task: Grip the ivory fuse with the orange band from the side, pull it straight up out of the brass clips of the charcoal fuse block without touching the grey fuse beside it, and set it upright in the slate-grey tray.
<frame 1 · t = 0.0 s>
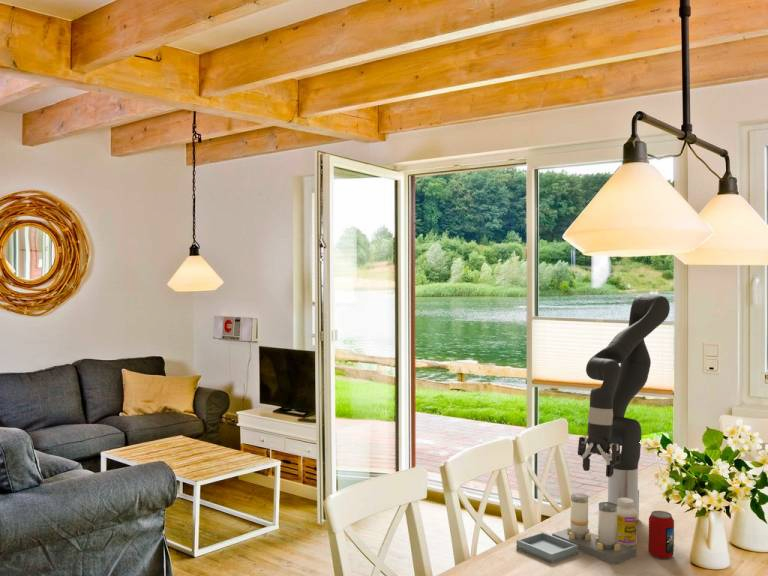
hand: (597, 473, 229), 17 cm above the table, tool pointing down, fingers open, 8 cm apart
fuse block: (592, 547, 213), on the table
beverage can: (660, 556, 207), on the table
tray: (546, 551, 210), on the table
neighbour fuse: (607, 546, 209), point 2 cm above the table, touching fuse block
supplement bottle: (624, 543, 217), on the table
marked fuse: (579, 535, 217), point 2 cm above the table, touching fuse block
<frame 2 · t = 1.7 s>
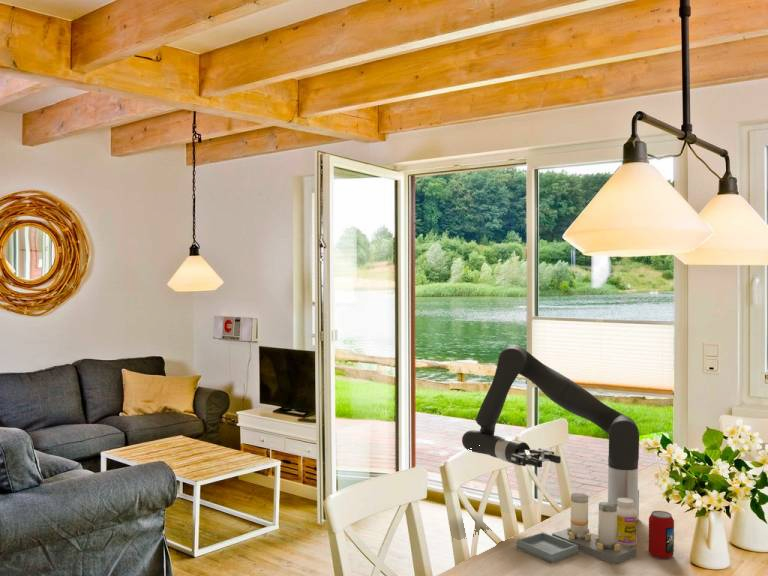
hand: (550, 462, 225), 22 cm above the table, tool horizontal, fingers open, 8 cm apart
nothing on the table moved.
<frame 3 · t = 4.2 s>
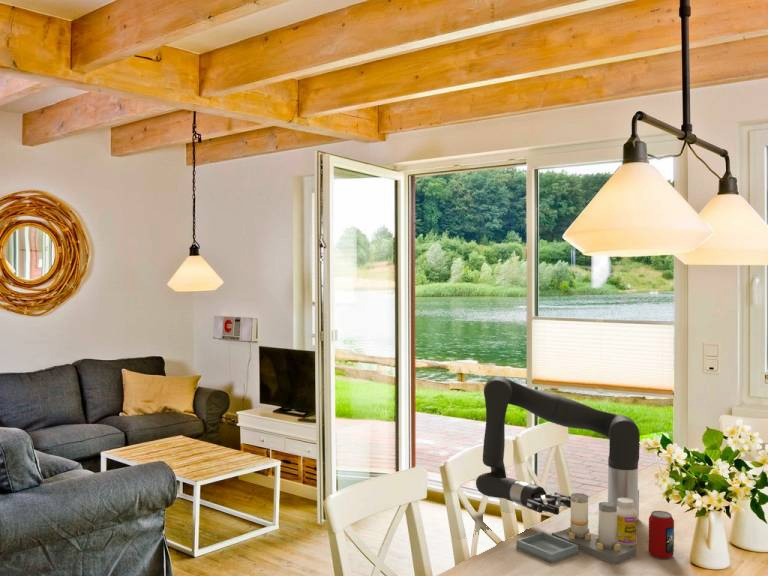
hand: (567, 508, 220), 9 cm above the table, tool horizontal, fingers open, 8 cm apart
nothing on the table moved.
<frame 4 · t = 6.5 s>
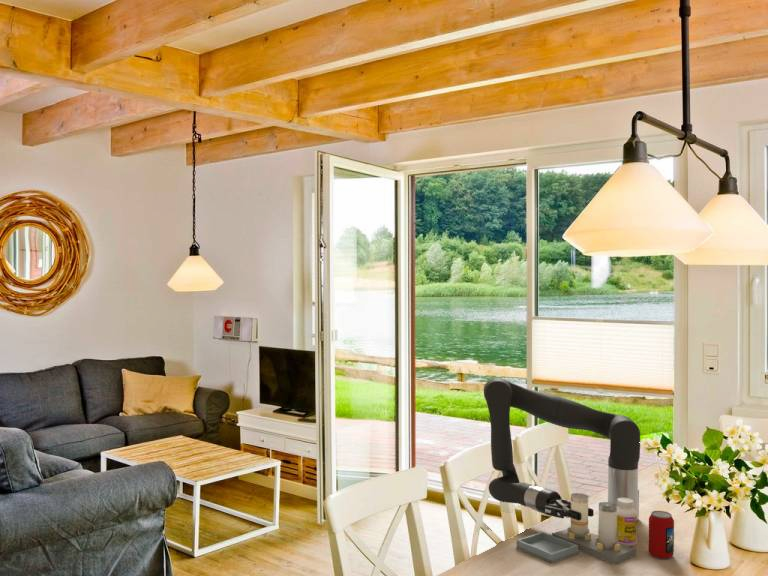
hand: (586, 514, 215), 9 cm above the table, tool horizontal, fingers closed on marked fuse, 5 cm apart
marked fuse: (579, 535, 217), point 2 cm above the table, touching fuse block, gripper
everything else where it was.
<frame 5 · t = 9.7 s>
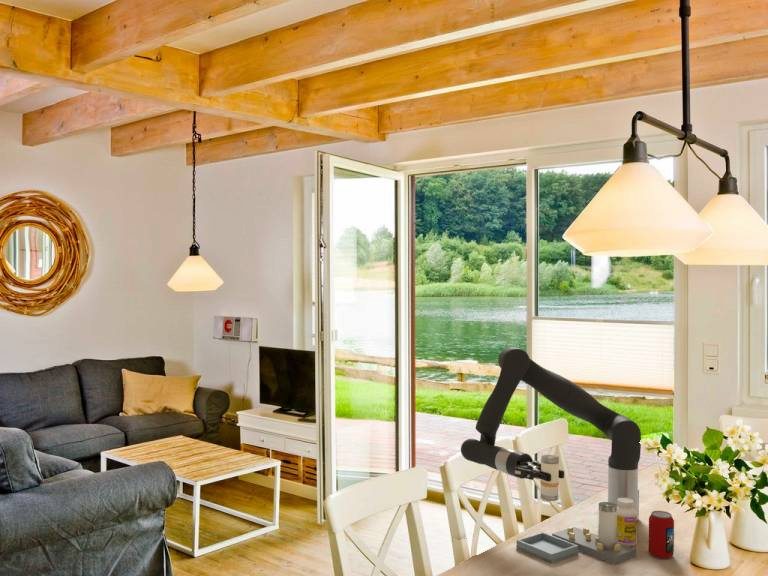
hand: (556, 476, 208), 22 cm above the table, tool horizontal, fingers closed on marked fuse, 5 cm apart
marked fuse: (549, 498, 211), point 15 cm above the table, touching gripper
everything else where it was.
when the fingers open (9 cm above the table, at t = 13.2 s): marked fuse drops 1 cm, resting on tray.
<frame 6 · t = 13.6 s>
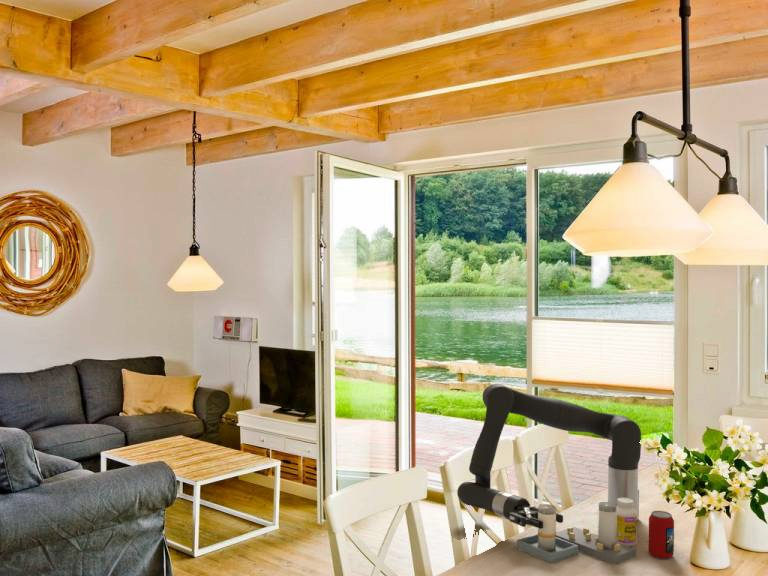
hand: (552, 522, 208), 9 cm above the table, tool horizontal, fingers open, 8 cm apart
marked fuse: (546, 548, 210), point 1 cm above the table, touching tray
everything else where it was.
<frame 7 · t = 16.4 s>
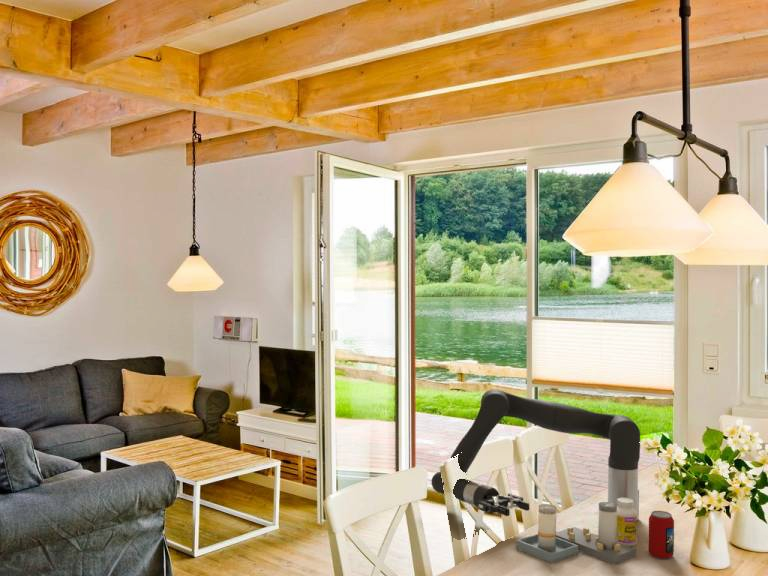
hand: (518, 509, 219), 9 cm above the table, tool horizontal, fingers open, 8 cm apart
nothing on the table moved.
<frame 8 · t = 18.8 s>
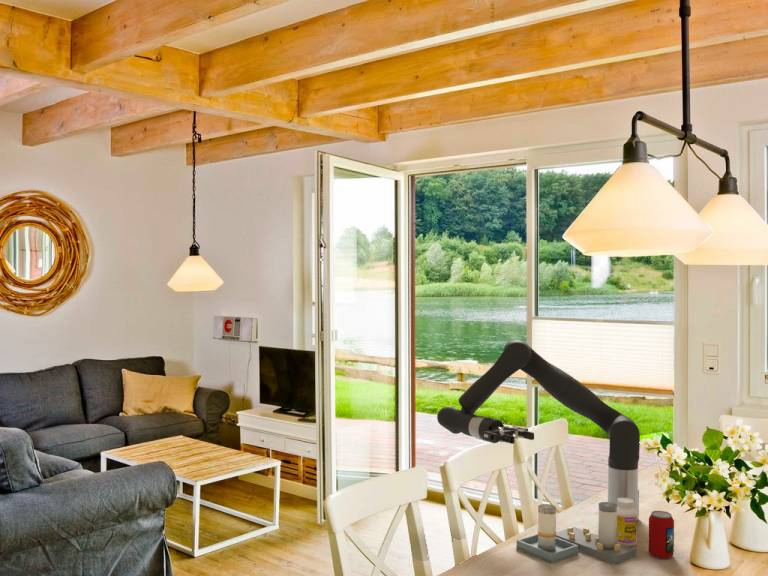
hand: (523, 438, 221), 30 cm above the table, tool horizontal, fingers open, 8 cm apart
nothing on the table moved.
at the end: marked fuse inside the target area on the tray (0.1 cm from its centre), point 0.8 cm above the tray's base; marked fuse tilted 1°; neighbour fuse moved 0.0 cm from its start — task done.
